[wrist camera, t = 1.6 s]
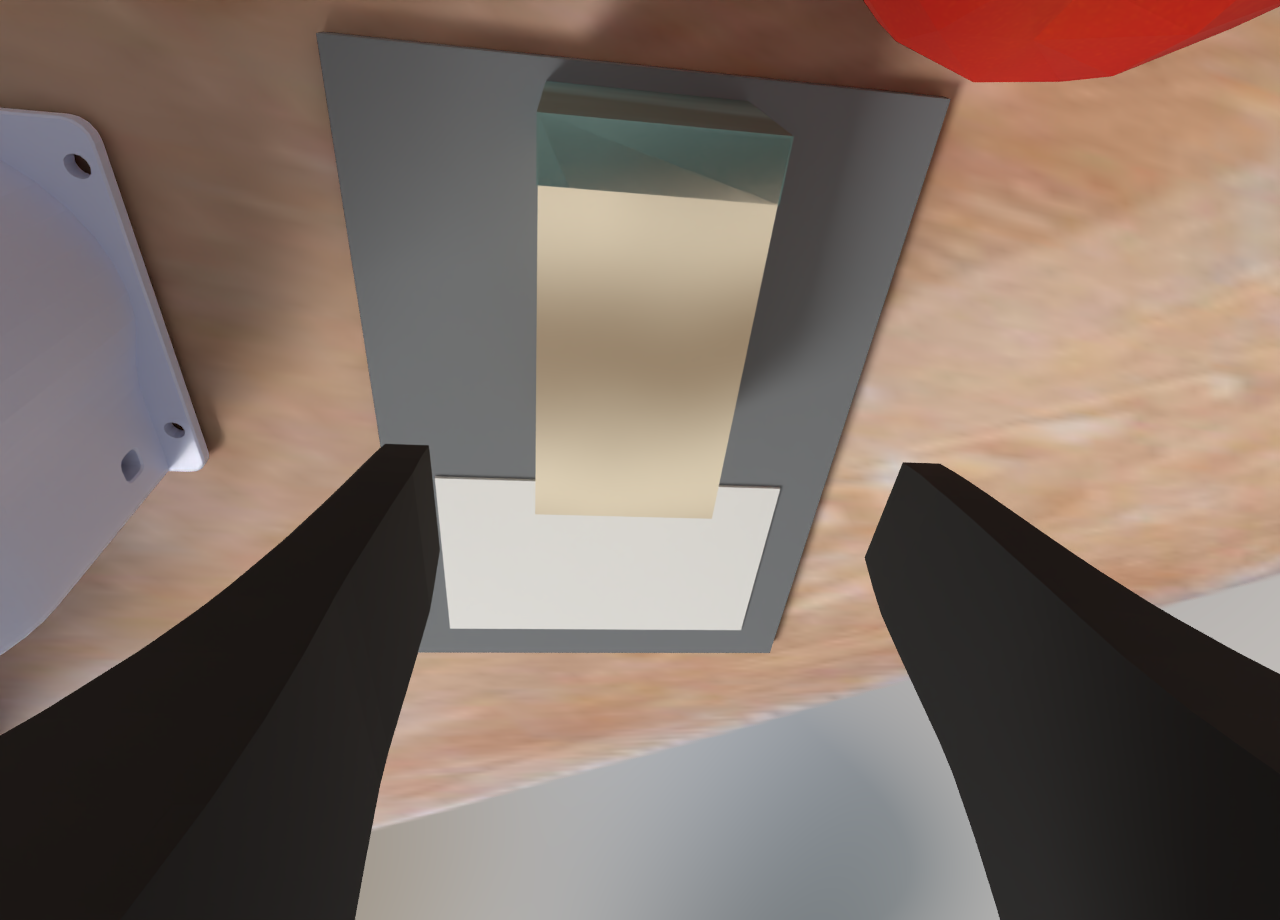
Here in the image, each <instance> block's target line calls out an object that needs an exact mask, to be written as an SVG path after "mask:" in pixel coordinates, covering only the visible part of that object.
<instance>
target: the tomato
mask: <svg viewBox="0 0 1280 920" xmlns="http://www.w3.org/2000/svg"><path fill="white" fill-rule="evenodd" d="M863 1H864V2H865V4H866V5H867V6H868V8H869V9H870V11H871V12H872V14H873V15H874V17H875V18H876V20H877V21H878V23H879V24H880V25H881V26H882V27H883V28H884V29H885V30H886V31H887V32H888V33H889V34H890V35H891V36H892V37H893V38H894V40H895V41H897V42H899V43H901V44H902V45H904V46H906V47H908V48H910V49H912V50H914V51H916V52H917V53H919V54H921V55H923V56H925V57H927V58H929V59H931V60H932V61H934V62H936V63H938V64H940V65H942V66H944V67H946V68H948V69H949V70H951V71H953V72H955V73H957V74H959V75H961V76H963V77H964V78H966V79H968V80H970V81H972V82H1061V81H1071V80H1080V79H1090V78H1099V77H1109V76H1114V75H1117V74H1119V73H1122V72H1124V71H1127V70H1129V69H1132V68H1134V67H1137V66H1139V65H1141V64H1144V63H1146V62H1149V61H1151V60H1154V59H1156V58H1159V57H1161V56H1164V55H1166V54H1169V53H1171V52H1174V51H1176V50H1179V49H1181V48H1184V47H1186V46H1189V45H1191V44H1194V43H1196V42H1199V41H1201V40H1204V39H1206V38H1209V37H1211V36H1214V35H1216V34H1219V33H1221V32H1224V31H1226V30H1229V29H1231V28H1234V27H1236V26H1238V25H1240V24H1242V23H1244V22H1247V21H1249V20H1251V19H1253V18H1255V17H1257V16H1260V15H1262V14H1264V13H1266V12H1268V11H1270V10H1273V9H1275V8H1277V7H1279V6H1280V0H863Z"/></svg>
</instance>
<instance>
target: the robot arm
mask: <svg viewBox="0 0 1280 920" xmlns="http://www.w3.org/2000/svg"><path fill="white" fill-rule="evenodd" d="M75 154H76V155H79V156H81V157H82V158H83V159H85V160H86V161H87V163H88V164H89V166H90V167H91V174H88V173H85V172H84V171H83V170H81V169H80V168H79V167H78V165H77V164H76V162H75V157H74V155H75ZM171 422H172V423H177V424H178V425H180V426H182V428H183V429H184V430H180V429H177V428H176V427H174V426H173V424H172V423H171ZM208 459H209V452H208V449H207V446H206V443H205V440H204V437H203V434H202V432H201V429H200V426H199V423H198V420H197V417H196V414H195V411H194V408H193V405H192V402H191V399H190V396H189V393H188V390H187V387H186V385H185V382H184V379H183V376H182V373H181V370H180V367H179V364H178V361H177V358H176V355H175V352H174V349H173V346H172V343H171V340H170V337H169V335H168V332H167V329H166V326H165V323H164V320H163V317H162V314H161V311H160V308H159V305H158V302H157V299H156V296H155V293H154V290H153V288H152V285H151V282H150V279H149V276H148V273H147V270H146V267H145V264H144V261H143V258H142V255H141V252H140V249H139V246H138V243H137V241H136V238H135V235H134V232H133V229H132V226H131V223H130V220H129V217H128V214H127V211H126V208H125V205H124V202H123V199H122V196H121V193H120V191H119V188H118V185H117V182H116V179H115V176H114V173H113V170H112V167H111V164H110V161H109V158H108V155H107V152H106V149H105V146H104V144H103V141H102V139H101V137H100V135H99V133H98V131H97V130H96V129H95V128H94V127H93V126H92V125H91V124H90V123H89V122H88V121H86V120H84V119H83V118H81V117H79V116H76V115H72V114H68V113H56V112H45V111H33V110H22V109H10V108H0V655H2V654H3V653H5V652H6V651H8V650H9V649H10V648H12V647H13V646H14V645H16V644H17V643H19V642H20V641H21V640H23V639H24V638H25V637H27V636H28V635H29V634H30V633H31V632H32V631H33V630H35V629H36V628H37V627H38V626H39V625H40V624H42V623H43V622H44V621H45V620H46V618H47V617H48V616H49V615H50V614H51V613H52V612H53V611H54V610H55V609H56V608H57V606H58V605H59V604H60V603H61V602H62V600H63V599H64V598H65V597H66V595H67V594H68V593H69V592H70V591H71V589H72V588H73V587H74V586H75V584H76V583H77V582H78V581H79V580H80V578H81V577H82V576H83V575H84V573H85V572H86V571H87V570H88V569H89V567H90V566H91V565H92V564H93V562H94V561H95V560H96V559H97V558H98V556H99V555H100V554H101V553H102V551H103V550H104V549H105V548H106V547H107V545H108V544H109V543H110V542H111V541H112V539H113V538H114V537H115V536H116V534H117V533H118V532H119V531H120V530H121V528H122V527H123V526H124V525H125V523H126V522H127V521H128V520H129V519H130V517H131V516H132V515H133V514H134V512H135V511H136V510H137V509H138V508H139V506H140V505H141V504H142V503H143V501H144V500H145V499H146V498H147V497H148V495H149V494H150V493H151V492H152V490H153V489H154V488H155V487H156V486H157V484H158V483H159V482H160V481H161V479H162V478H163V477H164V476H165V475H166V473H167V472H168V471H182V472H193V471H198V470H200V469H202V468H203V466H204V465H205V464H206V463H207V461H208ZM439 553H440V545H439V536H438V526H437V517H436V507H435V498H434V488H433V479H432V469H431V460H430V450H429V445H407V444H384V445H383V446H382V447H381V448H380V449H379V450H378V451H377V452H375V453H374V454H373V455H372V456H371V457H370V458H369V459H368V460H367V461H366V462H365V463H364V464H363V465H362V466H361V467H360V468H359V469H358V470H357V471H356V472H355V473H354V474H353V475H352V476H351V477H350V478H349V479H348V480H347V481H346V482H345V483H344V484H343V485H342V486H341V487H340V488H339V489H338V490H337V491H336V492H335V493H334V494H333V495H332V496H331V497H329V498H328V499H327V500H326V501H325V502H324V503H323V504H322V505H321V506H320V507H319V508H318V509H317V510H316V511H315V512H314V513H312V514H311V515H310V516H309V517H308V518H307V519H306V520H305V521H304V522H303V523H302V524H301V525H299V526H298V527H297V528H296V529H295V530H294V531H293V532H292V533H291V534H290V535H289V536H288V537H286V538H285V539H284V540H283V541H282V542H281V543H280V544H278V545H277V546H276V547H275V548H274V549H273V550H271V551H270V552H269V553H268V554H267V555H265V556H264V557H263V558H262V559H261V560H259V561H258V562H257V563H256V564H255V565H254V566H252V567H251V568H250V569H249V570H248V571H246V572H245V573H244V574H243V575H242V576H240V577H239V578H238V579H237V580H236V581H234V582H233V583H232V584H231V585H230V586H228V587H227V588H226V589H224V590H223V591H222V592H221V593H219V594H218V595H217V596H215V597H214V598H213V599H212V600H210V601H209V602H208V603H206V604H205V605H204V606H202V607H201V608H200V609H198V610H197V611H196V612H194V613H193V614H191V615H190V616H189V617H187V618H186V619H184V620H183V621H181V622H180V623H179V624H177V625H176V626H174V627H173V628H172V629H170V630H169V631H167V632H166V633H164V634H163V635H162V636H160V637H159V638H157V639H156V640H155V641H153V642H152V643H150V644H149V645H147V646H146V647H144V648H143V649H141V650H140V651H138V652H137V653H135V654H134V655H132V656H130V657H129V658H127V659H126V660H124V661H122V662H121V663H119V664H118V665H116V666H114V667H113V668H111V669H110V670H108V671H106V672H105V673H103V674H102V675H100V676H98V677H97V678H95V679H94V680H92V681H90V682H89V683H87V684H86V685H84V686H82V687H81V688H79V689H78V690H76V691H75V692H73V693H71V694H70V695H68V696H67V697H65V698H63V699H62V700H60V701H59V702H57V703H55V704H54V705H52V706H51V707H49V708H47V709H46V710H44V711H42V712H41V713H39V714H37V715H36V716H34V717H32V718H30V719H29V720H27V721H25V722H23V723H22V724H20V725H18V726H16V727H15V728H13V729H11V730H9V731H8V732H6V733H4V734H2V735H1V736H0V920H355V916H356V910H357V904H358V899H359V893H360V888H361V882H362V877H363V871H364V866H365V860H366V855H367V850H368V845H369V839H370V834H371V829H372V824H373V819H374V814H375V808H376V803H377V798H378V793H379V788H380V783H381V779H382V775H383V771H384V767H385V763H386V759H387V756H388V752H389V748H390V745H391V741H392V738H393V735H394V731H395V728H396V725H397V721H398V718H399V715H400V711H401V708H402V704H403V701H404V698H405V694H406V691H407V688H408V684H409V681H410V678H411V674H412V671H413V668H414V664H415V661H416V657H417V654H418V651H419V647H420V644H421V640H422V637H423V633H424V630H425V627H426V623H427V620H428V616H429V612H430V608H431V602H432V596H433V591H434V585H435V579H436V572H437V566H438V559H439ZM865 561H866V564H867V568H868V571H869V575H870V579H871V582H872V586H873V590H874V593H875V596H876V599H877V602H878V605H879V608H880V612H881V615H882V617H883V619H884V622H885V624H886V626H887V629H888V631H889V633H890V635H891V637H892V640H893V642H894V644H895V646H896V649H897V651H898V653H899V655H900V657H901V660H902V662H903V664H904V666H905V668H906V670H907V673H908V675H909V677H910V679H911V681H912V683H913V685H914V688H915V690H916V692H917V694H918V696H919V698H920V701H921V702H922V705H923V707H924V709H925V711H926V713H927V716H928V718H929V720H930V722H931V724H932V726H933V729H934V731H935V733H936V735H937V737H938V739H939V741H940V744H941V746H942V749H943V751H944V753H945V756H946V758H947V761H948V763H949V765H950V768H951V770H952V773H953V776H954V778H955V781H956V784H957V787H958V790H959V793H960V796H961V799H962V801H963V804H964V807H965V810H966V813H967V816H968V819H969V822H970V825H971V827H972V831H973V834H974V837H975V839H976V843H977V846H978V849H979V852H980V856H981V859H982V862H983V865H984V868H985V871H986V875H987V878H988V881H989V884H990V887H991V891H992V894H993V897H994V901H995V904H996V907H997V910H998V914H999V917H1000V920H1280V674H1279V673H1277V672H1274V671H1273V670H1271V669H1269V668H1267V667H1265V666H1263V665H1261V664H1259V663H1257V662H1255V661H1253V660H1251V659H1249V658H1247V657H1245V656H1243V655H1242V654H1240V653H1238V652H1236V651H1234V650H1232V649H1230V648H1228V647H1227V646H1225V645H1223V644H1221V643H1219V642H1218V641H1216V640H1214V639H1212V638H1211V637H1209V636H1207V635H1205V634H1203V633H1202V632H1200V631H1198V630H1196V629H1194V628H1193V627H1191V626H1189V625H1187V624H1185V623H1184V622H1182V621H1180V620H1178V619H1177V618H1175V617H1173V616H1171V615H1170V614H1168V613H1166V612H1165V611H1163V610H1161V609H1160V608H1158V607H1156V606H1155V605H1153V604H1151V603H1150V602H1148V601H1146V600H1145V599H1143V598H1142V597H1140V596H1138V595H1137V594H1135V593H1134V592H1132V591H1130V590H1129V589H1127V588H1126V587H1124V586H1123V585H1121V584H1119V583H1118V582H1116V581H1115V580H1113V579H1111V578H1110V577H1108V576H1107V575H1105V574H1104V573H1102V572H1100V571H1099V570H1097V569H1096V568H1094V567H1093V566H1091V565H1090V564H1088V563H1087V562H1085V561H1084V560H1082V559H1081V558H1079V557H1078V556H1076V555H1075V554H1073V553H1072V552H1070V551H1069V550H1067V549H1066V548H1064V547H1063V546H1062V545H1060V544H1059V543H1057V542H1056V541H1054V540H1053V539H1051V538H1050V537H1048V536H1047V535H1046V534H1044V533H1043V532H1041V531H1040V530H1038V529H1037V528H1035V527H1034V526H1033V525H1031V524H1030V523H1028V522H1027V521H1025V520H1024V519H1023V518H1021V517H1020V516H1018V515H1017V514H1015V513H1014V512H1013V511H1011V510H1010V509H1008V508H1007V507H1005V506H1004V505H1003V504H1001V503H1000V502H998V501H997V500H995V499H994V498H993V497H991V496H990V495H988V494H987V493H985V492H984V491H982V490H981V489H979V488H978V487H976V486H975V485H973V484H972V483H971V482H969V481H967V480H966V479H964V478H963V477H961V476H960V475H958V474H956V473H955V472H953V471H952V470H950V469H948V468H946V467H945V466H943V465H941V464H932V463H904V462H903V464H902V466H901V469H900V471H899V474H898V476H897V479H896V481H895V484H894V486H893V489H892V491H891V494H890V496H889V499H888V501H887V504H886V506H885V508H884V511H883V513H882V516H881V518H880V521H879V523H878V526H877V528H876V531H875V533H874V536H873V538H872V541H871V543H870V546H869V548H868V551H867V553H866V556H865Z"/></svg>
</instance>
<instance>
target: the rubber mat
mask: <svg viewBox="0 0 1280 920" xmlns="http://www.w3.org/2000/svg"><path fill="white" fill-rule="evenodd" d="M316 36H317V42H318V49H319V55H320V61H321V68H322V74H323V81H324V87H325V93H326V100H327V106H328V113H329V119H330V125H331V132H332V138H333V145H334V151H335V157H336V164H337V170H338V177H339V183H340V189H341V196H342V202H343V209H344V215H345V221H346V228H347V234H348V241H349V247H350V253H351V260H352V266H353V273H354V279H355V285H356V292H357V298H358V305H359V311H360V317H361V324H362V330H363V337H364V343H365V349H366V356H367V362H368V369H369V375H370V381H371V388H372V394H373V401H374V407H375V414H376V420H377V426H378V433H379V439H380V446H381V447H382V446H383V445H384V444H407V445H429V450H430V460H431V469H432V479H433V488H434V498H435V507H436V517H437V526H438V536H439V545H440V553H439V559H438V566H437V572H436V579H435V585H434V591H433V596H432V602H431V608H430V612H429V616H428V620H427V623H426V627H425V630H424V633H423V637H422V640H421V644H420V647H419V651H418V652H505V653H770V651H771V647H772V644H773V641H774V638H775V635H776V632H777V629H778V626H779V623H780V620H781V617H782V614H783V611H784V608H785V605H786V602H787V598H788V595H789V592H790V589H791V586H792V583H793V580H794V577H795V574H796V571H797V568H798V565H799V562H800V559H801V556H802V553H803V549H804V546H805V543H806V540H807V537H808V534H809V531H810V528H811V525H812V522H813V519H814V516H815V513H816V510H817V507H818V504H819V501H820V497H821V494H822V491H823V488H824V485H825V482H826V479H827V476H828V473H829V470H830V467H831V464H832V461H833V458H834V455H835V452H836V448H837V445H838V442H839V439H840V436H841V433H842V430H843V427H844V424H845V421H846V418H847V415H848V412H849V409H850V406H851V403H852V400H853V396H854V393H855V390H856V387H857V384H858V381H859V378H860V375H861V372H862V369H863V366H864V363H865V360H866V357H867V354H868V351H869V347H870V344H871V341H872V338H873V335H874V332H875V329H876V326H877V323H878V320H879V317H880V314H881V311H882V308H883V305H884V302H885V299H886V295H887V292H888V289H889V286H890V283H891V280H892V277H893V274H894V271H895V268H896V265H897V262H898V259H899V256H900V253H901V250H902V246H903V243H904V240H905V237H906V234H907V231H908V228H909V225H910V222H911V219H912V216H913V213H914V210H915V207H916V204H917V201H918V197H919V194H920V191H921V188H922V185H923V182H924V179H925V176H926V173H927V170H928V167H929V164H930V161H931V158H932V155H933V152H934V149H935V145H936V142H937V139H938V136H939V133H940V130H941V127H942V124H943V121H944V118H945V115H946V112H947V109H948V106H949V103H950V100H951V99H948V98H946V97H942V96H932V95H923V94H913V93H903V92H894V91H884V90H875V89H865V88H856V87H846V86H836V85H827V84H817V83H808V82H798V81H789V80H779V79H770V78H760V77H750V76H741V75H731V74H722V73H712V72H703V71H693V70H683V69H674V68H664V67H655V66H645V65H636V64H626V63H616V62H607V61H597V60H588V59H578V58H569V57H559V56H550V55H540V54H530V53H521V52H511V51H502V50H492V49H483V48H473V47H463V46H454V45H444V44H435V43H425V42H416V41H406V40H396V39H387V38H377V37H368V36H358V35H349V34H339V33H330V32H319V33H316ZM546 81H552V82H562V83H572V84H582V85H592V86H602V87H612V88H622V89H632V90H642V91H652V92H662V93H672V94H682V95H692V96H702V97H712V98H722V99H732V100H742V101H749V102H750V103H751V104H753V105H754V106H755V107H757V108H758V109H759V110H760V111H762V112H763V113H764V114H766V115H767V116H768V117H770V118H771V119H772V120H773V121H775V122H776V123H777V124H779V125H780V126H781V127H782V128H784V129H785V130H786V131H788V132H789V133H790V134H792V135H793V136H794V138H793V143H792V148H791V152H790V157H789V162H788V166H787V171H786V176H785V181H784V185H783V190H782V195H781V200H780V204H779V205H778V206H777V211H776V216H775V221H774V225H773V230H772V235H771V240H770V244H769V249H768V254H767V259H766V263H765V268H764V273H763V278H762V282H761V287H760V292H759V297H758V301H757V306H756V311H755V316H754V321H753V325H752V330H751V335H750V340H749V344H748V349H747V354H746V359H745V363H744V368H743V373H742V378H741V382H740V387H739V392H738V397H737V401H736V406H735V411H734V416H733V420H732V425H731V430H730V435H729V439H728V444H727V449H726V454H725V458H724V463H723V468H722V473H721V478H720V482H719V487H718V492H717V497H716V501H715V506H714V511H713V516H712V519H702V518H663V517H623V516H583V515H544V514H535V475H536V347H537V220H538V185H536V124H537V109H538V105H539V102H540V99H541V95H542V92H543V88H544V85H545V82H546Z"/></svg>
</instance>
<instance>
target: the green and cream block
mask: <svg viewBox="0 0 1280 920" xmlns="http://www.w3.org/2000/svg"><path fill="white" fill-rule="evenodd" d="M793 138H794V136H793V135H792V134H790V133H789V132H788V131H786V130H785V129H784V128H782V127H781V126H780V125H779V124H777V123H776V122H775V121H773V120H772V119H771V118H770V117H768V116H767V115H766V114H764V113H763V112H762V111H760V110H759V109H758V108H757V107H755V106H754V105H753V104H751V103H750V102H749V101H742V100H732V99H722V98H712V97H702V96H692V95H682V94H672V93H662V92H652V91H642V90H632V89H622V88H612V87H602V86H592V85H582V84H572V83H562V82H552V81H546V82H545V85H544V88H543V92H542V95H541V99H540V102H539V105H538V109H537V124H536V185H538V220H537V347H536V475H535V514H544V515H583V516H623V517H663V518H702V519H712V516H713V511H714V506H715V501H716V497H717V492H718V487H719V482H720V478H721V473H722V468H723V463H724V458H725V454H726V449H727V444H728V439H729V435H730V430H731V425H732V420H733V416H734V411H735V406H736V401H737V397H738V392H739V387H740V382H741V378H742V373H743V368H744V363H745V359H746V354H747V349H748V344H749V340H750V335H751V330H752V325H753V321H754V316H755V311H756V306H757V301H758V297H759V292H760V287H761V282H762V278H763V273H764V268H765V263H766V259H767V254H768V249H769V244H770V240H771V235H772V230H773V225H774V221H775V216H776V211H777V206H778V205H779V204H780V200H781V195H782V190H783V185H784V181H785V176H786V171H787V166H788V162H789V157H790V152H791V148H792V143H793Z"/></svg>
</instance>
